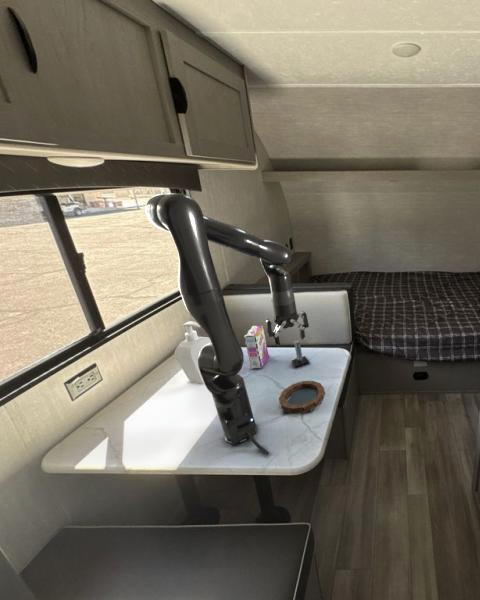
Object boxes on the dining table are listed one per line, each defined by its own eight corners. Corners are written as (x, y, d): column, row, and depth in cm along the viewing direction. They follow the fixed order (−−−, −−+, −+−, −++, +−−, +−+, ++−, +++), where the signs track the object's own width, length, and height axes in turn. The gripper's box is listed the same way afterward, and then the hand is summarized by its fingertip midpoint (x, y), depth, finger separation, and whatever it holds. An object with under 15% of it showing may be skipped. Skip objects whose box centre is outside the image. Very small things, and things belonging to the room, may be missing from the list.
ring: (330, 400, 115) (330, 396, 114) (286, 419, 107) (285, 414, 106) (316, 380, 127) (315, 375, 127) (275, 395, 119) (274, 390, 119)
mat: (311, 412, 111) (310, 410, 111) (283, 413, 111) (282, 411, 111) (320, 387, 124) (320, 386, 124) (295, 388, 124) (295, 386, 124)
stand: (309, 363, 141) (305, 342, 136) (296, 368, 138) (291, 346, 133) (305, 358, 145) (301, 337, 141) (292, 362, 142) (288, 340, 138)
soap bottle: (204, 386, 127) (186, 330, 118) (184, 384, 129) (165, 328, 120) (226, 369, 138) (211, 317, 129) (207, 367, 140) (191, 315, 131)
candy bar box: (262, 368, 138) (255, 335, 132) (251, 369, 138) (243, 336, 132) (269, 355, 149) (263, 324, 143) (258, 356, 148) (251, 325, 142)
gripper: (264, 308, 103) (272, 351, 108) (306, 299, 110) (312, 340, 115) (260, 302, 109) (268, 343, 114) (300, 293, 116) (306, 332, 121)
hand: (290, 341), depth 115 cm, fingers open, 8 cm apart
